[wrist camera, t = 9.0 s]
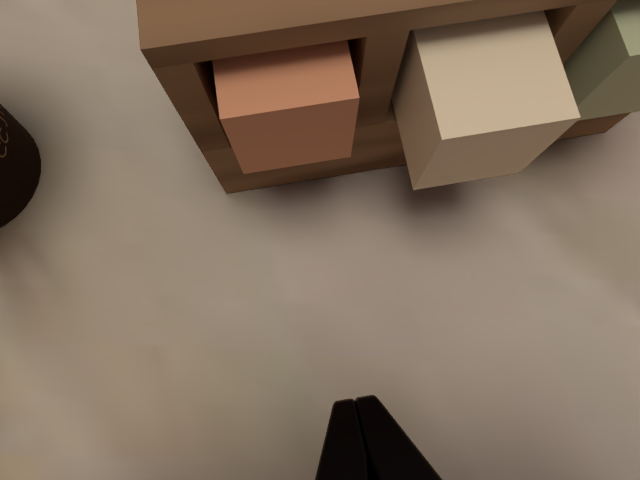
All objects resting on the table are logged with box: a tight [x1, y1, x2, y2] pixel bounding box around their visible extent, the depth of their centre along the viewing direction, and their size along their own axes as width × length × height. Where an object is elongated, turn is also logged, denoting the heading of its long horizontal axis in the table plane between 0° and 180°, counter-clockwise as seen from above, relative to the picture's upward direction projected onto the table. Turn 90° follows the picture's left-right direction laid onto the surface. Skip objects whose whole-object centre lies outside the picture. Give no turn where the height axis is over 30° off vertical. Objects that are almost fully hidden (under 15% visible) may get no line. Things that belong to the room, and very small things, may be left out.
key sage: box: [563, 0, 640, 121], centre depth 16 cm, size 6×4×4 cm, turn 10°
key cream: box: [391, 10, 581, 190], centre depth 15 cm, size 6×4×4 cm, turn 10°
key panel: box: [136, 0, 631, 194], centre depth 18 cm, size 8×19×11 cm, turn 100°
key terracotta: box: [212, 40, 360, 174], centre depth 15 cm, size 6×4×4 cm, turn 10°
